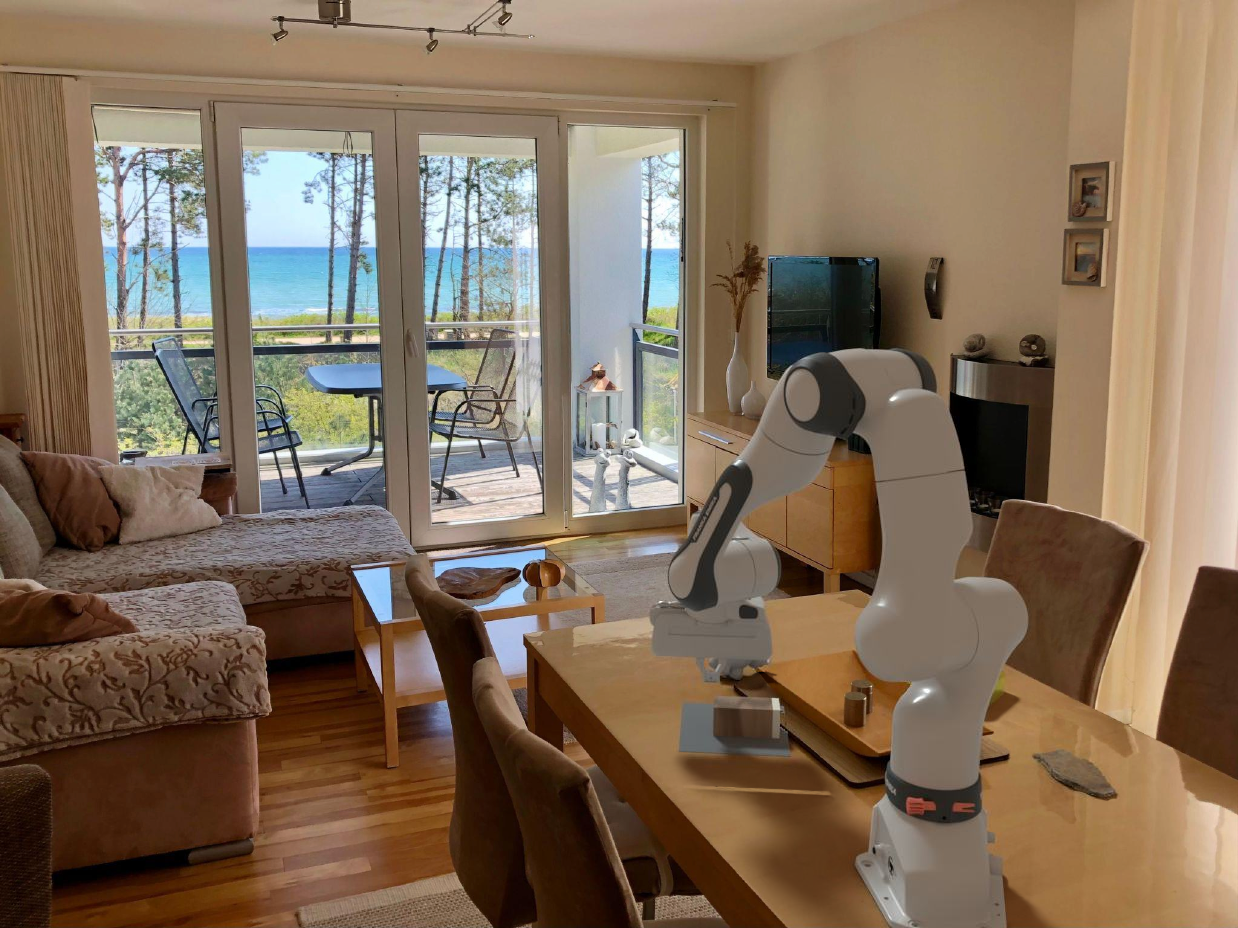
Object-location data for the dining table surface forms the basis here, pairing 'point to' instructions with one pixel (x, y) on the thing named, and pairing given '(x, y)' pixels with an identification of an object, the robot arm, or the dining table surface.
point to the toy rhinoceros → (738, 666)
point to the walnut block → (746, 717)
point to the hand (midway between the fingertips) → (710, 681)
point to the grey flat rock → (1075, 772)
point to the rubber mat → (701, 740)
